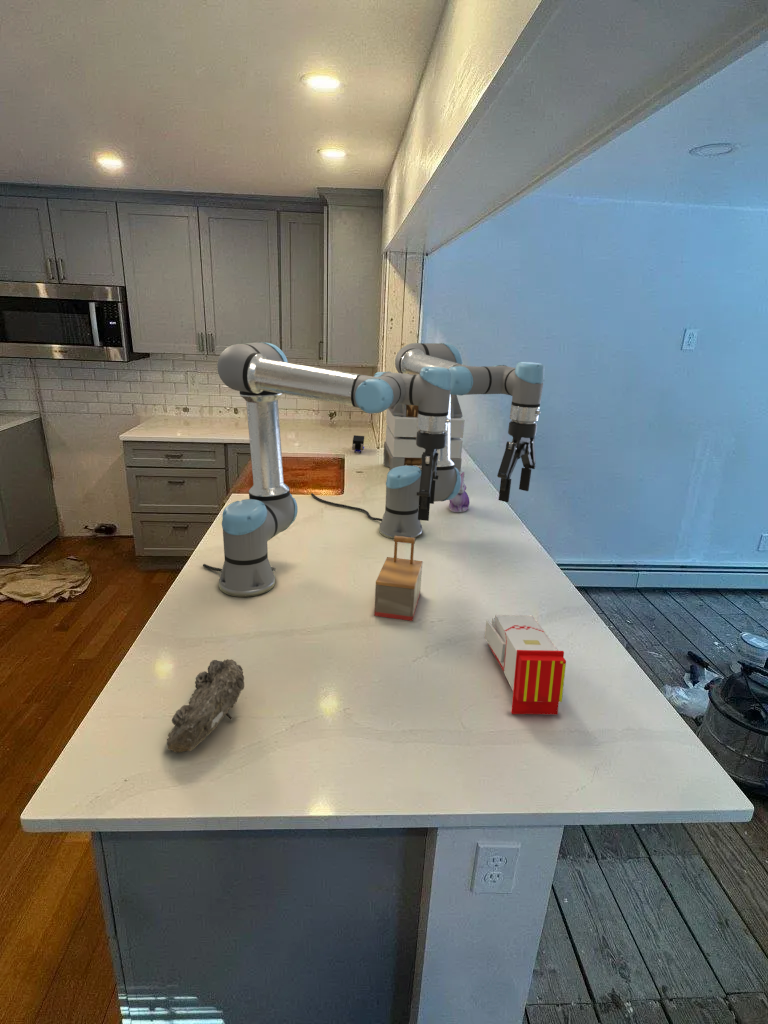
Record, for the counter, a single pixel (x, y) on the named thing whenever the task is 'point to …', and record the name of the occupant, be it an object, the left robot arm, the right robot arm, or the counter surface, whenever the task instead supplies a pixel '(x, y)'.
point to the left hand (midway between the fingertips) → (426, 511)
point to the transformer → (404, 434)
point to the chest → (397, 601)
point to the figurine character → (358, 443)
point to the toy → (527, 663)
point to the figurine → (460, 498)
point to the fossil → (206, 705)
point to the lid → (400, 568)
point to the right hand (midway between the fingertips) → (513, 495)
